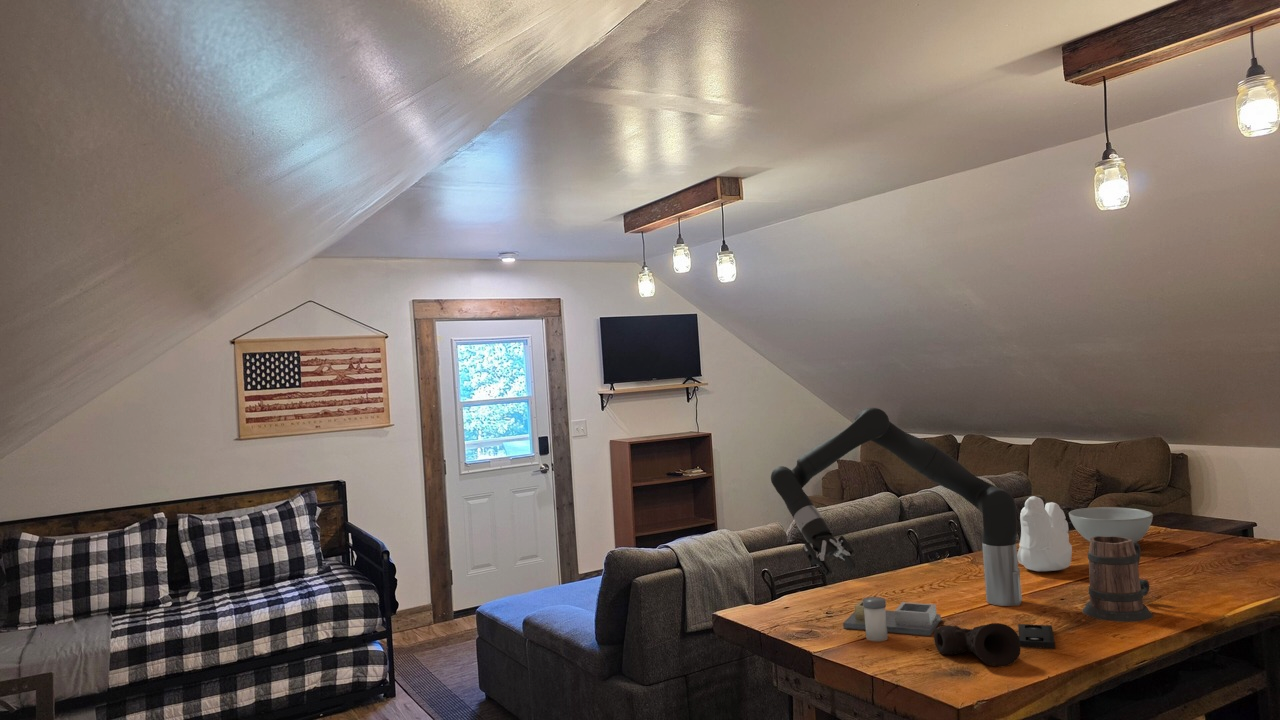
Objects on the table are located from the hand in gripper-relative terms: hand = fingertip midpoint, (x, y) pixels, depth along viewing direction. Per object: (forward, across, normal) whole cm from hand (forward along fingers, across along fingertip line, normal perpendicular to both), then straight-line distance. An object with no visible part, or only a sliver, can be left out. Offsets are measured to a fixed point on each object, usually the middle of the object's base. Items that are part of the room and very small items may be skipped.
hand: (841, 572), depth 232 cm
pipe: (+37, +8, -16) cm, 41 cm away
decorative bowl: (+2, +137, +19) cm, 138 cm away
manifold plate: (+15, +12, +6) cm, 20 cm away
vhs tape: (+38, +29, -16) cm, 50 cm away
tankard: (+36, +67, -15) cm, 78 cm away
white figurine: (+7, +94, +14) cm, 95 cm away
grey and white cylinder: (+19, 0, +2) cm, 19 cm away
